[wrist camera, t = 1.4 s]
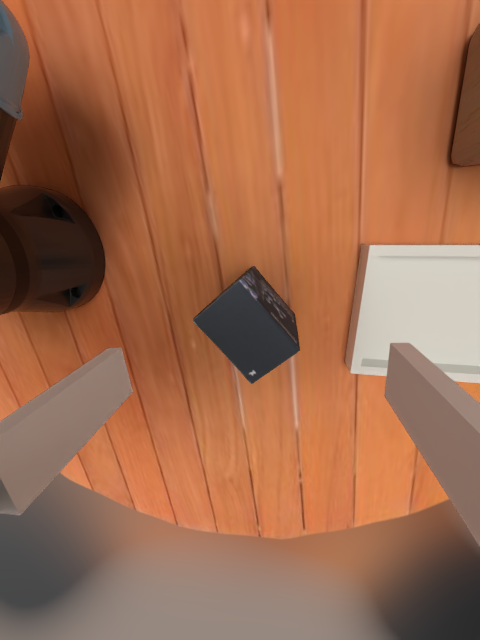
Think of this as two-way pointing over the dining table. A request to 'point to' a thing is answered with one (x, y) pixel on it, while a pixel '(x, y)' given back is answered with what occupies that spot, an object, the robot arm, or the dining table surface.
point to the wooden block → (469, 110)
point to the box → (251, 325)
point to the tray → (417, 307)
